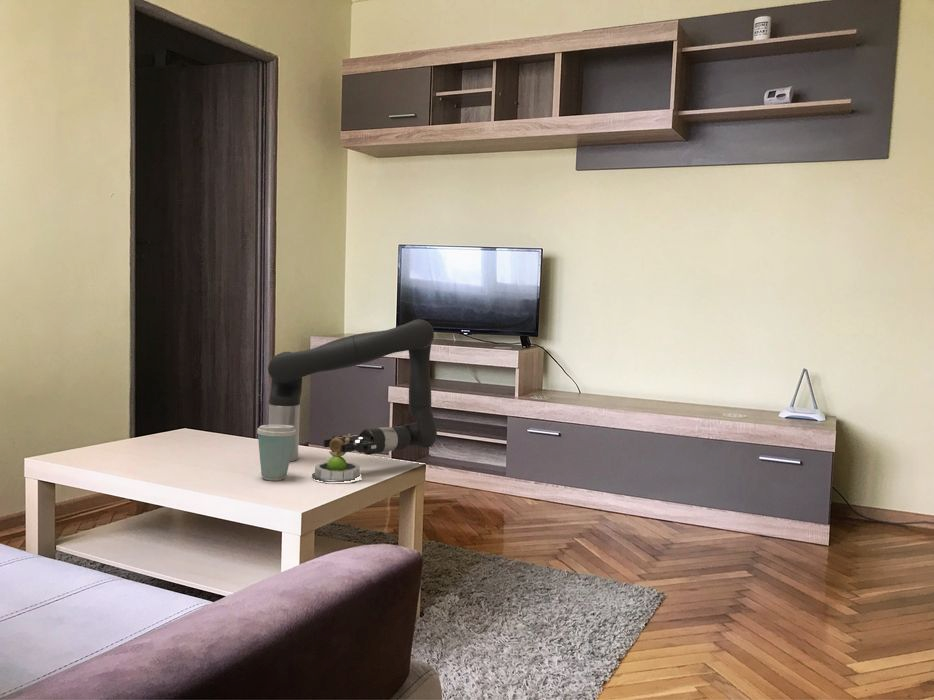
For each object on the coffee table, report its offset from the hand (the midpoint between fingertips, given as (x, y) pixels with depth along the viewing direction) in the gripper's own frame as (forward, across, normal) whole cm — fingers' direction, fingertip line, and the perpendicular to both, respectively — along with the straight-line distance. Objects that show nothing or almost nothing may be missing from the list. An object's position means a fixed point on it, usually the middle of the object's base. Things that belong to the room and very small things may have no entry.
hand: (332, 446), depth 210 cm
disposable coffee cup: (+12, -9, +10) cm, 18 cm away
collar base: (-2, 0, +9) cm, 10 cm away
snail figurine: (-2, 0, +9) cm, 9 cm away
